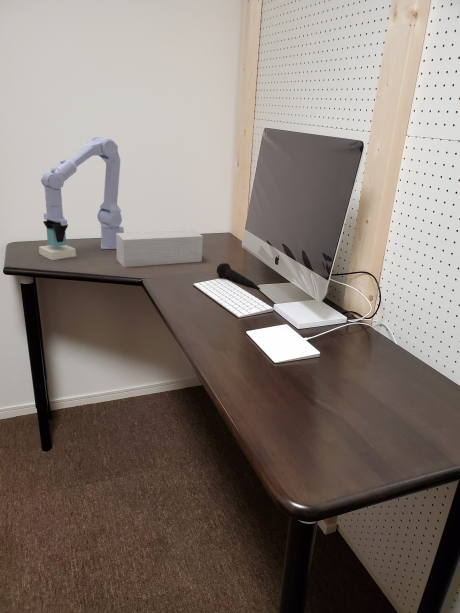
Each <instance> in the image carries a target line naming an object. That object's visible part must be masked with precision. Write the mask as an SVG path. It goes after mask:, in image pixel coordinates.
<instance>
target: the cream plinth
mask: <svg viewBox="0 0 460 613" xmlns="http://www.w3.org/2000/svg"><path fill="white" fill-rule="evenodd" d="M76 250H77V249H76V248H74V247H72V246H70V245H68V244H66V245H63V246H56V247H54V246H51V245H49V244H47V245H43V246H42V245H40V246H38V253H39V255H41V256H42V257H44V258H46V259H49V260H50V261H55V260H56V261H57V260H60V259H68V258H74V257H77V251H76Z"/></svg>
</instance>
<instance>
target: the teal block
mask: <svg viewBox="0 0 460 613" xmlns="http://www.w3.org/2000/svg"><path fill="white" fill-rule="evenodd" d="M66 236H67V235H66V233H65V234H64V239H63V242H57V239H56V234H55V231H54V228H48V229H47V228H46V239H47V245H51V246H54V247H56V246H63V245H67V237H66Z"/></svg>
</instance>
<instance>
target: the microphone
mask: <svg viewBox="0 0 460 613" xmlns="http://www.w3.org/2000/svg"><path fill="white" fill-rule="evenodd" d="M216 273H217V275H218V277H220V278H222V277H223V278H228V279H230V280H231V281H232V282H237V283H239V284H241V285H243V286H247V287H248V288H251V289H252V288H253V289H256V290H259V289H260V290H261V288H260V287H259V286H258V285H256V284H255V282H254V281H253V280H250V279H249V278H248V277H246V276H244V275H242V274H240V273H239V272H238V271H235V270H233V269H232V268H231V265H230V264H229V263H227V262H226V263H223V262H222V263H220V264H219V265H218V266H217V267H216ZM223 278H222V279H223Z"/></svg>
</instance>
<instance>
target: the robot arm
mask: <svg viewBox="0 0 460 613" xmlns="http://www.w3.org/2000/svg"><path fill="white" fill-rule="evenodd" d="M118 151H119V146H118V144H117V143H116V142H115V141H114V140H113V139H111V138H102V137H97V136H96V137H93V138H92V139H90V140H89V141H87V143H86V145H85V146H84V147H82V148H81V149H80V150H79V151H78V152H77V153H76V154H75V155H73V157H72V158H70V159H68V158H65V159H61V160H60V161H59V162H60V163H58V164H57V165H56V166H55V167H52V168H50V171H45V173H43V174H42V176H41V179H40V182H41V185H42V186H43V187H44V193H45V194H44V195H45V196H44V197H45V208H46V213H45V212H44V213H43V225H44V226H45V228H46V230H47V229H48V228H54V231H55V234H56V239H57V242H63V239H64V234H66V231H67V228H68V227H69V225H68V224H69V223H68V220H67V219H66V218H65V217H64V216H63V215H64V211H63V199H62V197H63V196H62V188H63V187H64V184H65V182H66V181H67V180H68V179H69V178H70V177H72V176H73V175H74V174H75V173H77V170H78V167H79V166H80V165H82V164H83V163H84V162H86V161H87V160H89V159H90V158H91V157H93V156H95V157H96V156H98V157H100V158H101V159H102V160H103V161H104V162H105V177H104V192H103V202H102V203H101V204H100V206H99V210H98V213H97V220H98V222H99V223H100V229H101V230H100V232H101V236H100V237H101V243H100V249H101V250H117V247H116V246H117V245H116V241H117V240H116V233H125V230H124V226H121V224H122V221H123V219H122V214H121V211H122V210H121V208H120V206H119V205H118V197H119V196H118V195H119V186H120V185H119V183H120V172H121V170H120V169H121V158H120V154H119V152H118Z"/></svg>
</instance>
